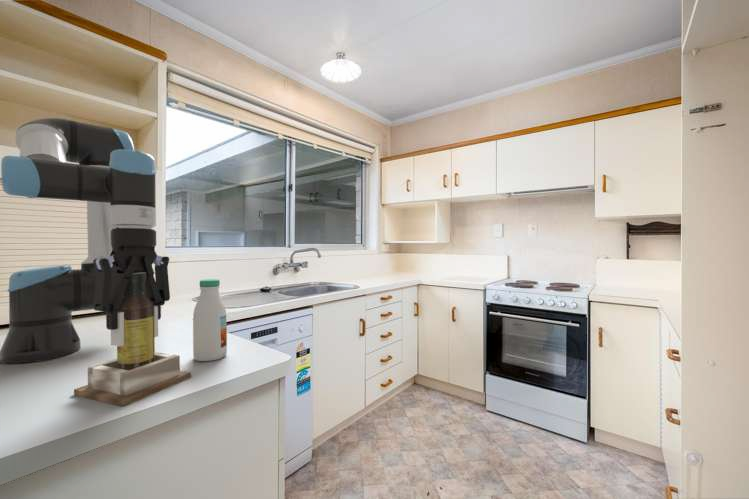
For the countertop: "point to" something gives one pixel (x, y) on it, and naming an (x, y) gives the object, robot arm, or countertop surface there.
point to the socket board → (131, 380)
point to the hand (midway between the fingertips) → (135, 340)
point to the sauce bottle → (137, 325)
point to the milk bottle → (209, 323)
